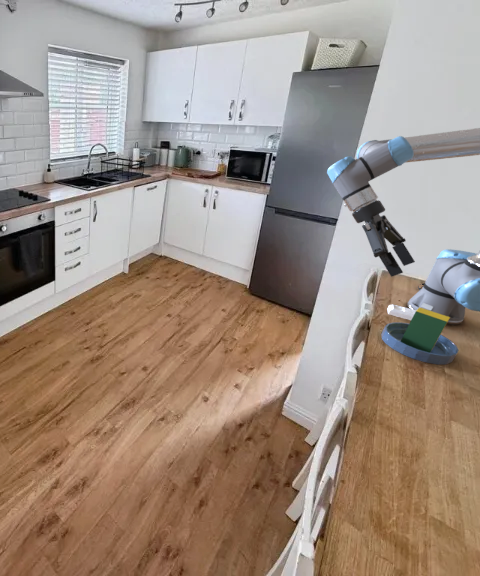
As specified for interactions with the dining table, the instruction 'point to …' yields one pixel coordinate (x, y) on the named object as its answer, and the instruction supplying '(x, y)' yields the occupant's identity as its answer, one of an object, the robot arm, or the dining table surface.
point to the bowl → (439, 354)
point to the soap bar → (401, 312)
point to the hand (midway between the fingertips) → (403, 269)
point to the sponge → (424, 329)
